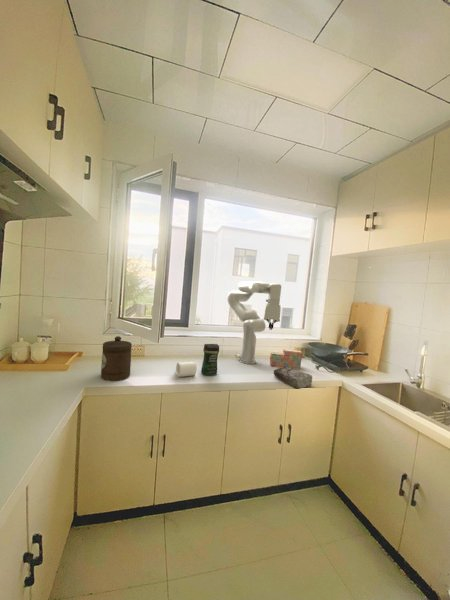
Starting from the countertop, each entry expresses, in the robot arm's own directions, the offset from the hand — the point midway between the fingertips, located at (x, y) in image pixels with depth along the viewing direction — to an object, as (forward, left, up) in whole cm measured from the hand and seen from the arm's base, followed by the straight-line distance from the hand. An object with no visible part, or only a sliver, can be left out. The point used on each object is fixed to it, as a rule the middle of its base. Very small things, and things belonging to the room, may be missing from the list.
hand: (270, 329), depth 171 cm
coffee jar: (-34, -23, -29) cm, 50 cm away
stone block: (+9, -6, -26) cm, 28 cm away
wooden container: (-80, -50, -29) cm, 98 cm away
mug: (-47, -31, -29) cm, 63 cm away
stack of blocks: (+12, +17, -29) cm, 35 cm away
